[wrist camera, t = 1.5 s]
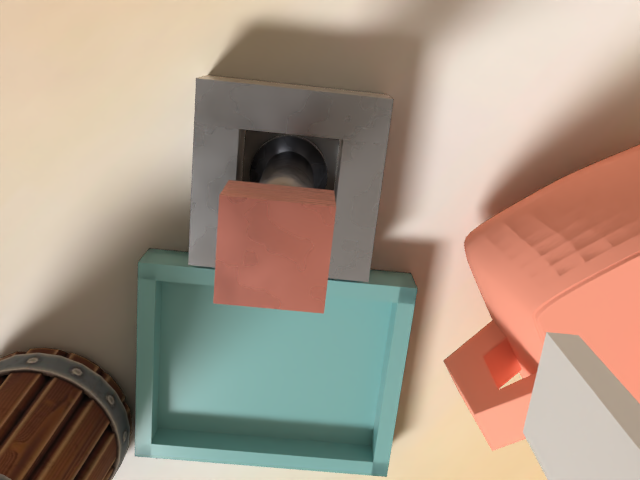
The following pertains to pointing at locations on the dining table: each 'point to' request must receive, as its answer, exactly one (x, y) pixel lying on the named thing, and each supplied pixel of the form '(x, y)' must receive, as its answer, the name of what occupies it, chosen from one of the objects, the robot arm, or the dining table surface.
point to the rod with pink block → (276, 230)
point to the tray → (269, 372)
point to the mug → (60, 418)
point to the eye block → (298, 119)
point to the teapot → (554, 289)
